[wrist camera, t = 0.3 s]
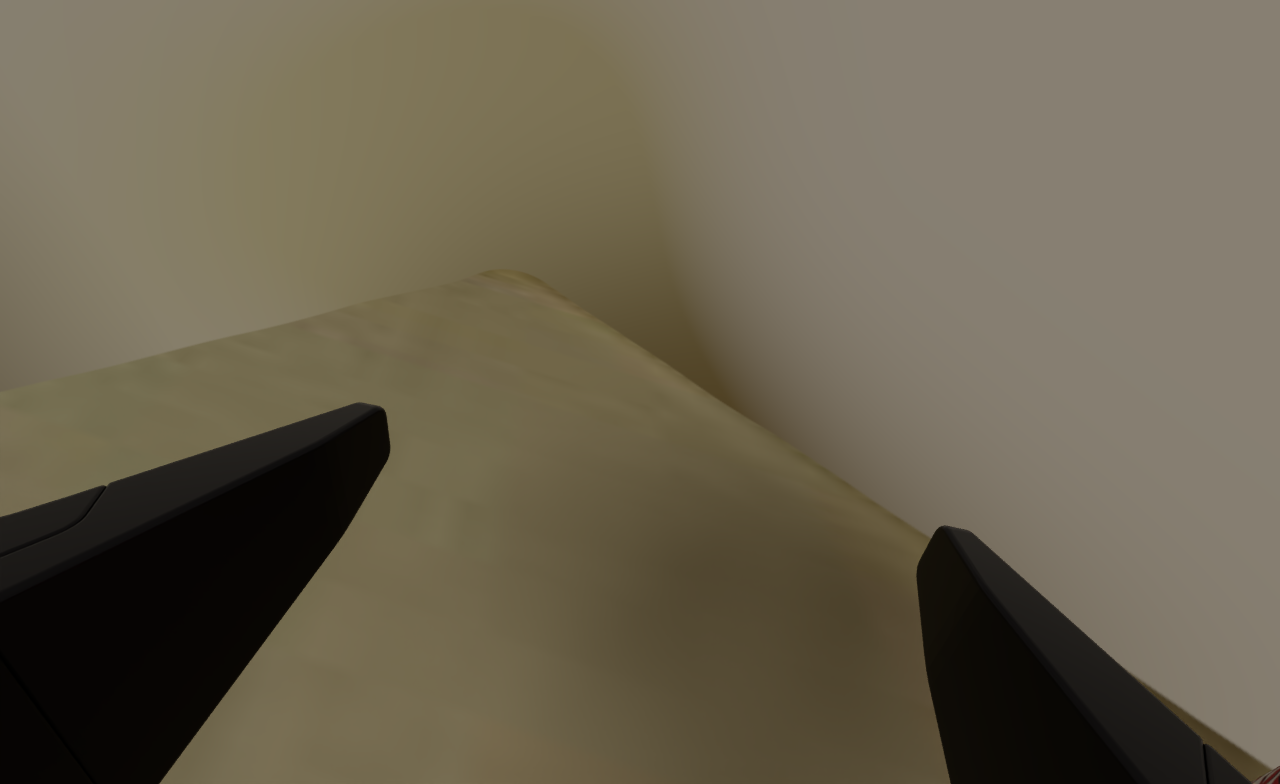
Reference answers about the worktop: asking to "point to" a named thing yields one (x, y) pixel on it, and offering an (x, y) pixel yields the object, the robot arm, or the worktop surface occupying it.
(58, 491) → the worktop surface
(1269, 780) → the soda can
